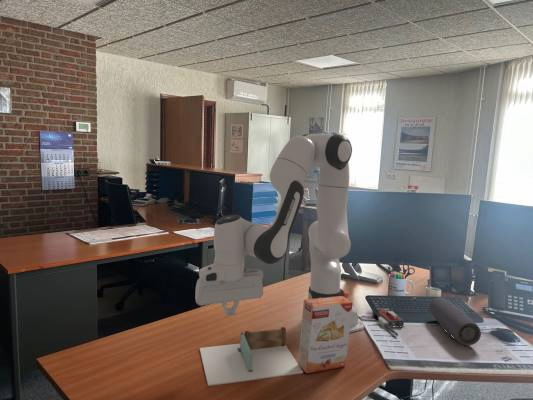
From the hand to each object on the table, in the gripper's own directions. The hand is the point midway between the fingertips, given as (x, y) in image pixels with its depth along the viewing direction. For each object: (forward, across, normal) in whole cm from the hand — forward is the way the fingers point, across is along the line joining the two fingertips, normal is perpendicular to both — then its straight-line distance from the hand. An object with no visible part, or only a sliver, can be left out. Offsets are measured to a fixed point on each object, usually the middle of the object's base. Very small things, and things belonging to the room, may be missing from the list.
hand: (230, 314), depth 116 cm
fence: (+16, -12, -5) cm, 21 cm away
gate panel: (+15, -4, +1) cm, 15 cm away
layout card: (+15, -6, +1) cm, 16 cm away
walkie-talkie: (+19, -65, -12) cm, 69 cm away
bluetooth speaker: (+19, -84, 0) cm, 86 cm away
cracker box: (+16, -26, +9) cm, 32 cm away
